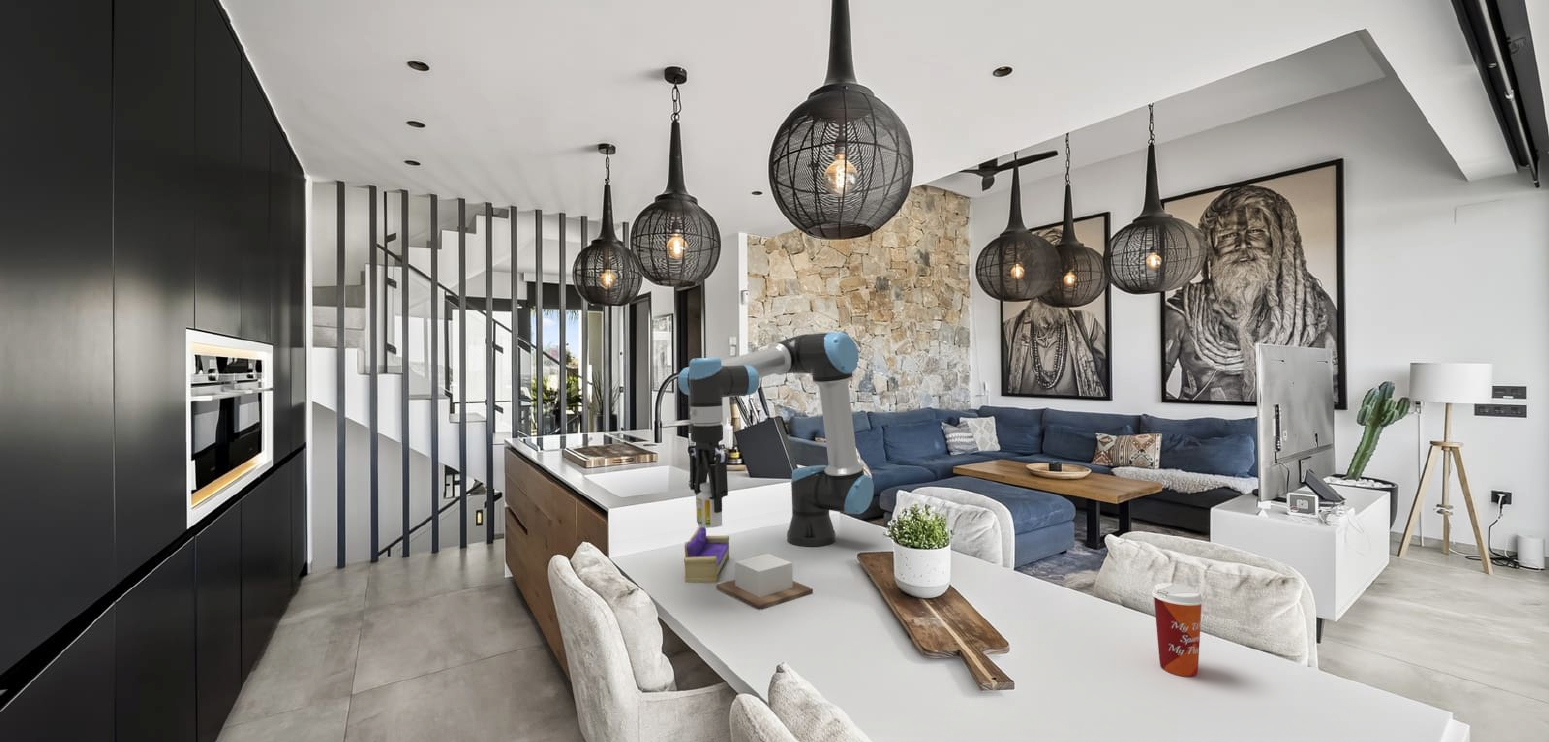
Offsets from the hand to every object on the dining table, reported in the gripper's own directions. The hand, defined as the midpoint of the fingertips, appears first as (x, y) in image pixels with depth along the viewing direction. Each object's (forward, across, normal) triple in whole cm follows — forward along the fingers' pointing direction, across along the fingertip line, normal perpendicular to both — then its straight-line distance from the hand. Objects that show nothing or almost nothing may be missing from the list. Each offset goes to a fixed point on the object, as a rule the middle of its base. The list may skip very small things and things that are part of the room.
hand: (709, 523), depth 146 cm
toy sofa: (+19, -21, +12) cm, 31 cm away
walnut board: (+18, +2, +14) cm, 23 cm away
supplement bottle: (+1, 0, 0) cm, 1 cm away
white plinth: (+18, +2, +14) cm, 23 cm away
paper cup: (+19, +81, +46) cm, 95 cm away
